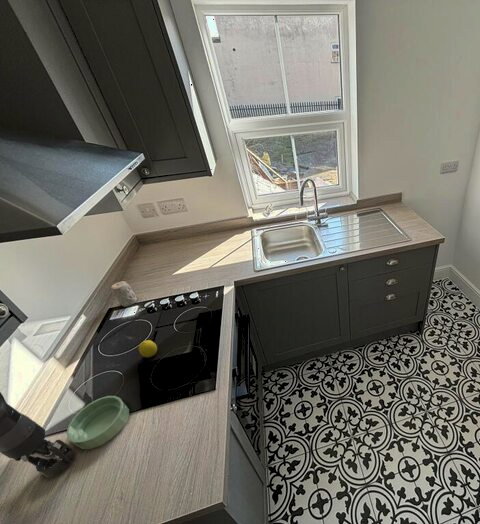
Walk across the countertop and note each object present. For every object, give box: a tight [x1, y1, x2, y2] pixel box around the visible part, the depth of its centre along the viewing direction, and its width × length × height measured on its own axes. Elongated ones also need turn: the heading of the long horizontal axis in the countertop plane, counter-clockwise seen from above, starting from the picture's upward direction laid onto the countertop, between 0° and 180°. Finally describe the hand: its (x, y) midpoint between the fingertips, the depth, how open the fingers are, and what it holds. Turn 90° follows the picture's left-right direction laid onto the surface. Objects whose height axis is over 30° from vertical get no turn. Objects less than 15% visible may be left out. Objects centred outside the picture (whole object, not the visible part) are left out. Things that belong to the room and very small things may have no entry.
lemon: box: [138, 339, 158, 358], centre depth 113 cm, size 6×6×8 cm
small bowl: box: [35, 451, 72, 478], centre depth 82 cm, size 6×6×4 cm
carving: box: [110, 280, 137, 308], centre depth 138 cm, size 6×8×12 cm
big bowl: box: [66, 395, 130, 450], centre depth 91 cm, size 14×14×5 cm
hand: (56, 462), depth 82 cm, fingers open, 8 cm apart
